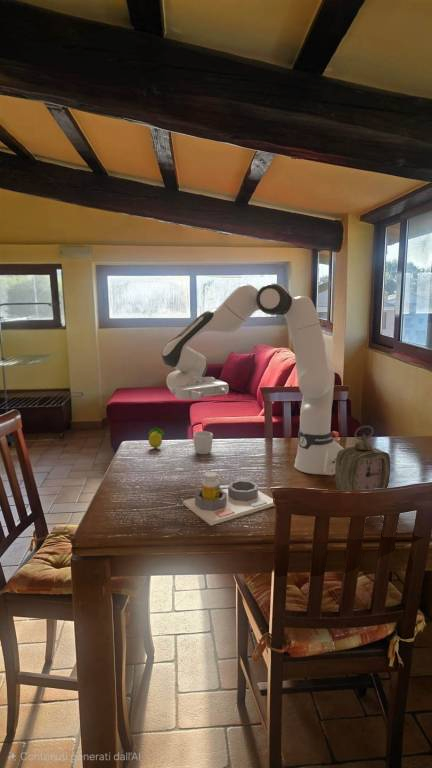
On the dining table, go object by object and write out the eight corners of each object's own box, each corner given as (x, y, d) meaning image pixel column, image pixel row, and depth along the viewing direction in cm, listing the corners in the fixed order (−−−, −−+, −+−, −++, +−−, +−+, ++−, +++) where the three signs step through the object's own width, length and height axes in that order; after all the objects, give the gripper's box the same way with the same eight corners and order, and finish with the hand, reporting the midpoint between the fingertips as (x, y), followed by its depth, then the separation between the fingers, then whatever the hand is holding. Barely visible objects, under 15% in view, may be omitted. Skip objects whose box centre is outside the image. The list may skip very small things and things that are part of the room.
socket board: (246, 487, 157) (246, 475, 156) (277, 504, 143) (277, 492, 143) (183, 504, 144) (183, 491, 143) (211, 525, 131) (210, 511, 130)
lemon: (164, 450, 194) (163, 427, 192) (150, 451, 192) (149, 428, 190) (161, 445, 200) (160, 423, 198) (147, 446, 198) (147, 424, 197)
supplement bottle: (204, 499, 145) (204, 469, 143) (221, 500, 144) (221, 471, 142) (200, 506, 140) (199, 476, 138) (217, 508, 138) (217, 478, 137)
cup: (196, 447, 198) (196, 428, 197) (215, 447, 197) (215, 429, 196) (191, 455, 188) (191, 436, 186) (211, 456, 187) (211, 437, 185)
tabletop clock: (349, 514, 137) (354, 432, 133) (330, 501, 146) (334, 424, 141) (387, 505, 143) (393, 426, 138) (367, 493, 151) (372, 419, 147)
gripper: (167, 381, 166) (186, 388, 154) (216, 376, 177) (237, 382, 165) (168, 399, 167) (186, 406, 156) (216, 392, 178) (237, 399, 166)
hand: (213, 394), depth 161 cm, fingers open, 8 cm apart
